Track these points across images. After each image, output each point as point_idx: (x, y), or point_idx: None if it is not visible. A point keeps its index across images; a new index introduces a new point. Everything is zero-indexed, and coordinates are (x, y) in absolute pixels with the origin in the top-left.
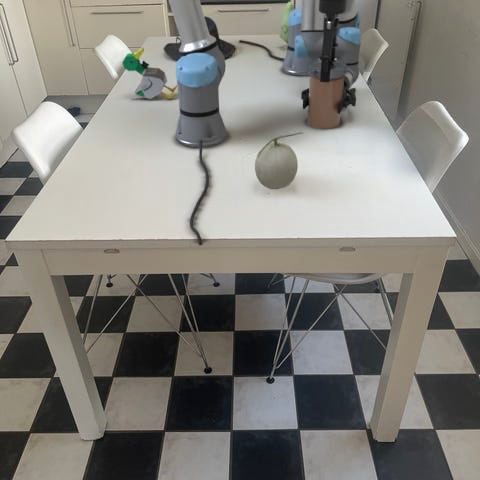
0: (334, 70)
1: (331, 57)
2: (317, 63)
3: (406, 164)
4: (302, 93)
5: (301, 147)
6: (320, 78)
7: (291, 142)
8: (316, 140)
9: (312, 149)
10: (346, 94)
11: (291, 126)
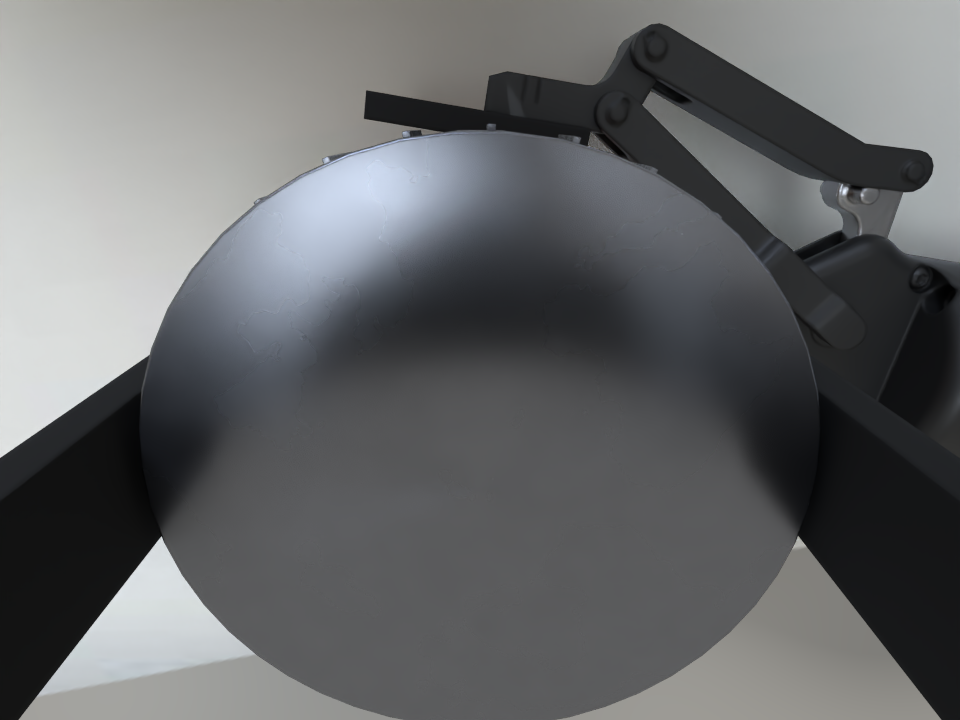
0: (206, 601)
1: (844, 530)
2: (516, 301)
3: (65, 681)
4: (632, 43)
5: (10, 163)
6: (135, 367)
7: (57, 74)
8: (162, 250)
9: (15, 242)
10: None
11: (348, 19)
